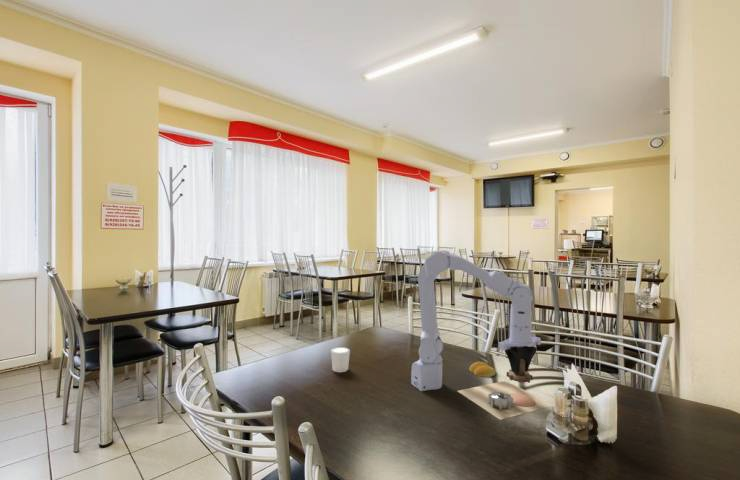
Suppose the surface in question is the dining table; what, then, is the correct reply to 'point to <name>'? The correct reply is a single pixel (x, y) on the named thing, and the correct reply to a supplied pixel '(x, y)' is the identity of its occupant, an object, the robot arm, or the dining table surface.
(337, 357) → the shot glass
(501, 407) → the sun gear
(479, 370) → the bread roll
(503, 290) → the robot arm
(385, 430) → the dining table surface
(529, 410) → the carrier board
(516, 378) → the planet gear
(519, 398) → the pink flat pad
